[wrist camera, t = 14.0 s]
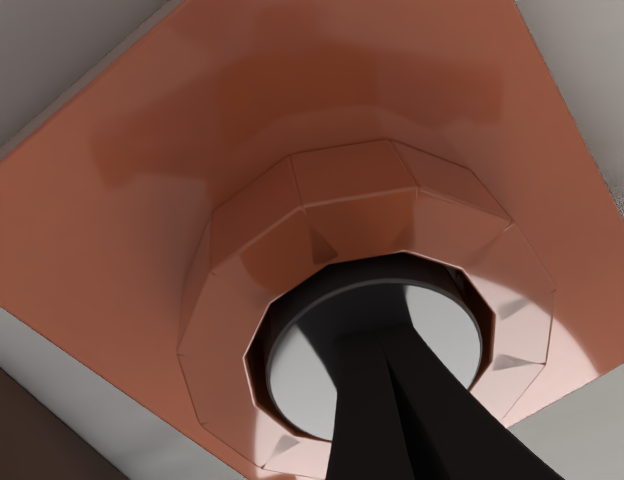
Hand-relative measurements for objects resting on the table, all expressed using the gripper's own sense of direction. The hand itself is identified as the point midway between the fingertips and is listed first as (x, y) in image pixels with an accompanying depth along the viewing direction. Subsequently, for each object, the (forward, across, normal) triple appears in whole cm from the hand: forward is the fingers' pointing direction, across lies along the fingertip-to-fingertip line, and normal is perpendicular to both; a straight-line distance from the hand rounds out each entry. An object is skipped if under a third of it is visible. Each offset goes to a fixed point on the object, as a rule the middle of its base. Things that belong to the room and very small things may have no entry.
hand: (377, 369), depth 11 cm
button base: (+4, 0, 0) cm, 4 cm away
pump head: (+2, 0, 0) cm, 2 cm away
